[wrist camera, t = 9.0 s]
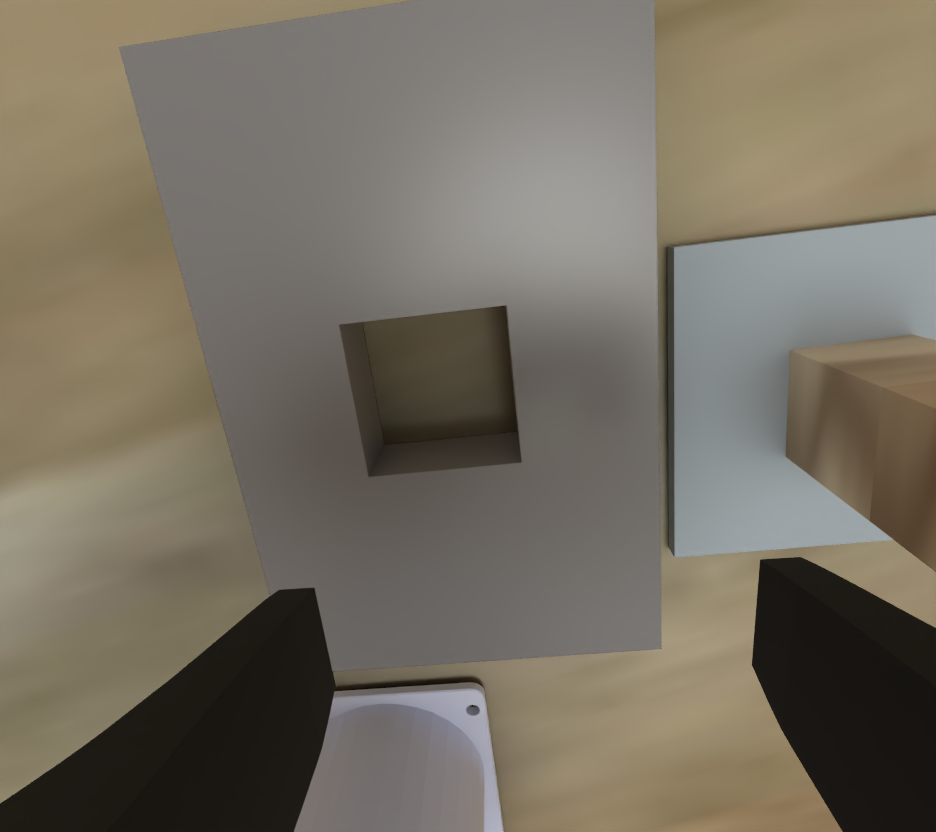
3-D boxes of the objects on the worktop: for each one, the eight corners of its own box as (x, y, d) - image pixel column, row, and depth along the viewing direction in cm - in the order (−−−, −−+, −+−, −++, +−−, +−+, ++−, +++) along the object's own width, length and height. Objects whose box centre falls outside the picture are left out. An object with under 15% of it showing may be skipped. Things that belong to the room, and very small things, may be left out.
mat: (976, 522, 18) (991, 532, 18) (669, 547, 19) (674, 557, 18) (1037, 202, 15) (1059, 200, 15) (667, 246, 16) (673, 247, 15)
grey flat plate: (640, 598, 20) (661, 648, 17) (314, 623, 21) (291, 674, 18) (626, 7, 14) (653, -38, 12) (177, 76, 15) (118, 47, 13)
